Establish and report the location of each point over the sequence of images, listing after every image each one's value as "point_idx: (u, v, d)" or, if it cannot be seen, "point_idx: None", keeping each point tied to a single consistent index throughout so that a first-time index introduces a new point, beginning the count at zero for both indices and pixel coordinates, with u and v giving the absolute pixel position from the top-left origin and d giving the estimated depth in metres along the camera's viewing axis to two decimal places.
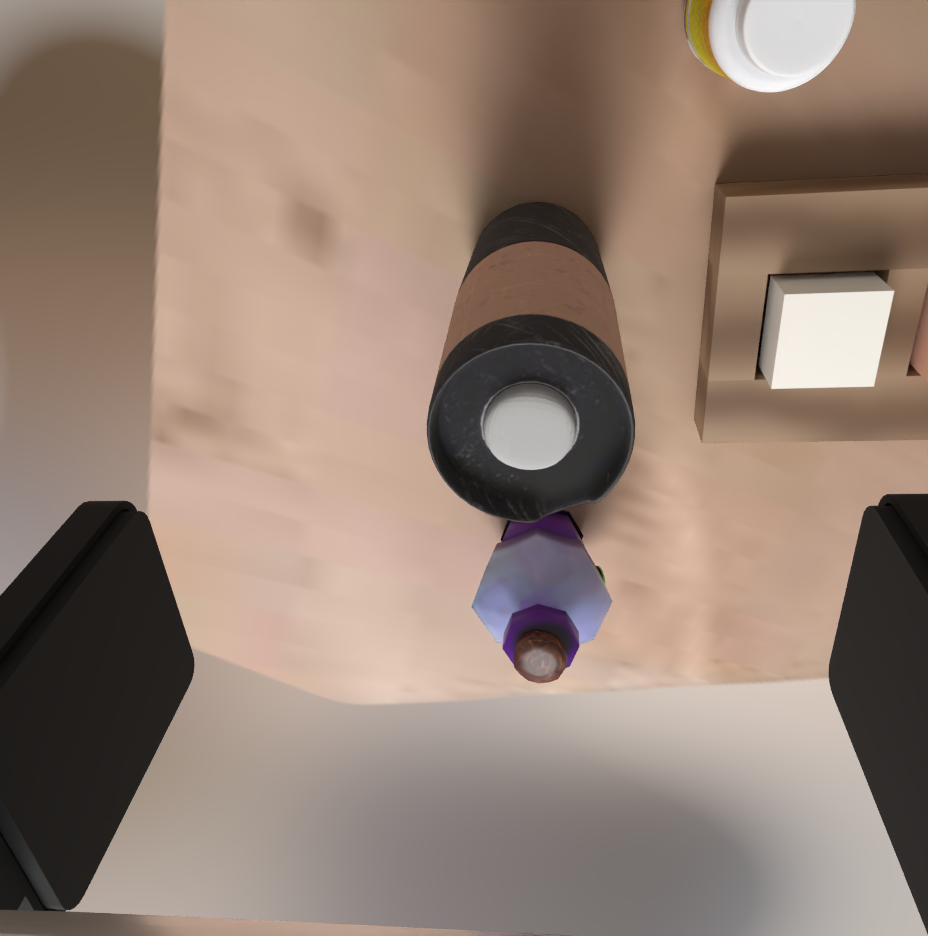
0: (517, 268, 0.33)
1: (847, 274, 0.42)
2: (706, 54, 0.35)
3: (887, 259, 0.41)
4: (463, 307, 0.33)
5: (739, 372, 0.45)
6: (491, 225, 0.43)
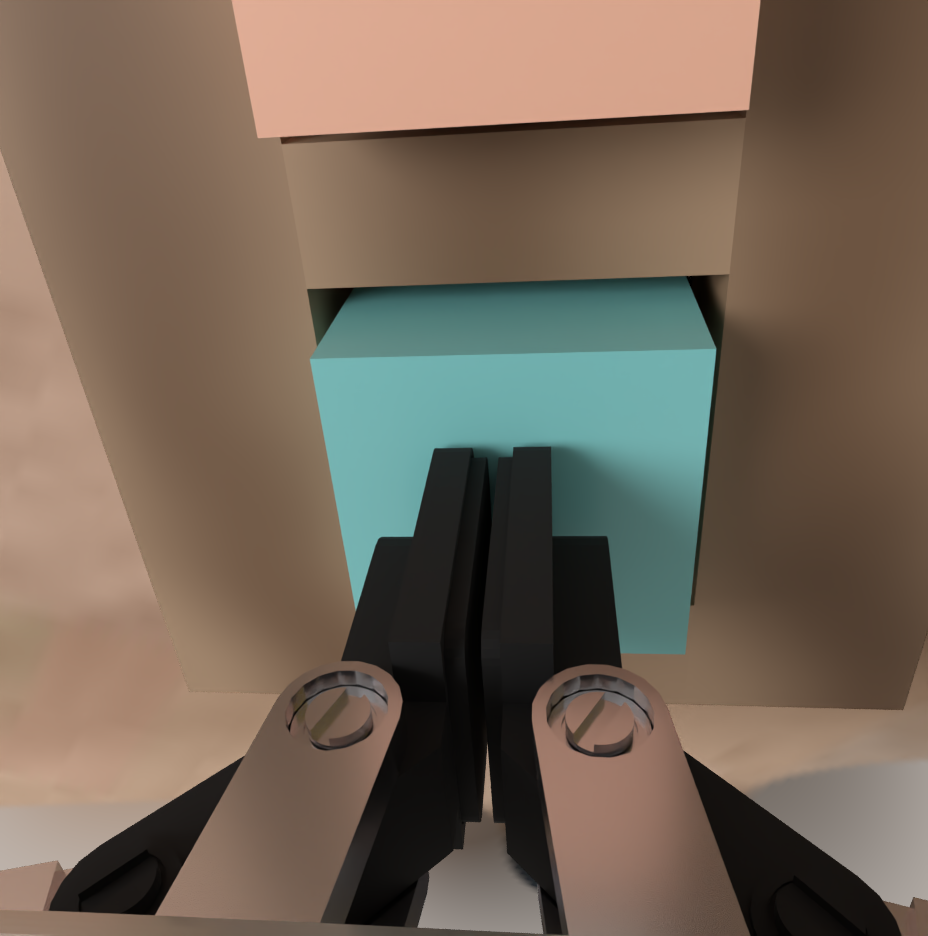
0: None
1: None
2: None
3: None
4: None
5: None
6: None
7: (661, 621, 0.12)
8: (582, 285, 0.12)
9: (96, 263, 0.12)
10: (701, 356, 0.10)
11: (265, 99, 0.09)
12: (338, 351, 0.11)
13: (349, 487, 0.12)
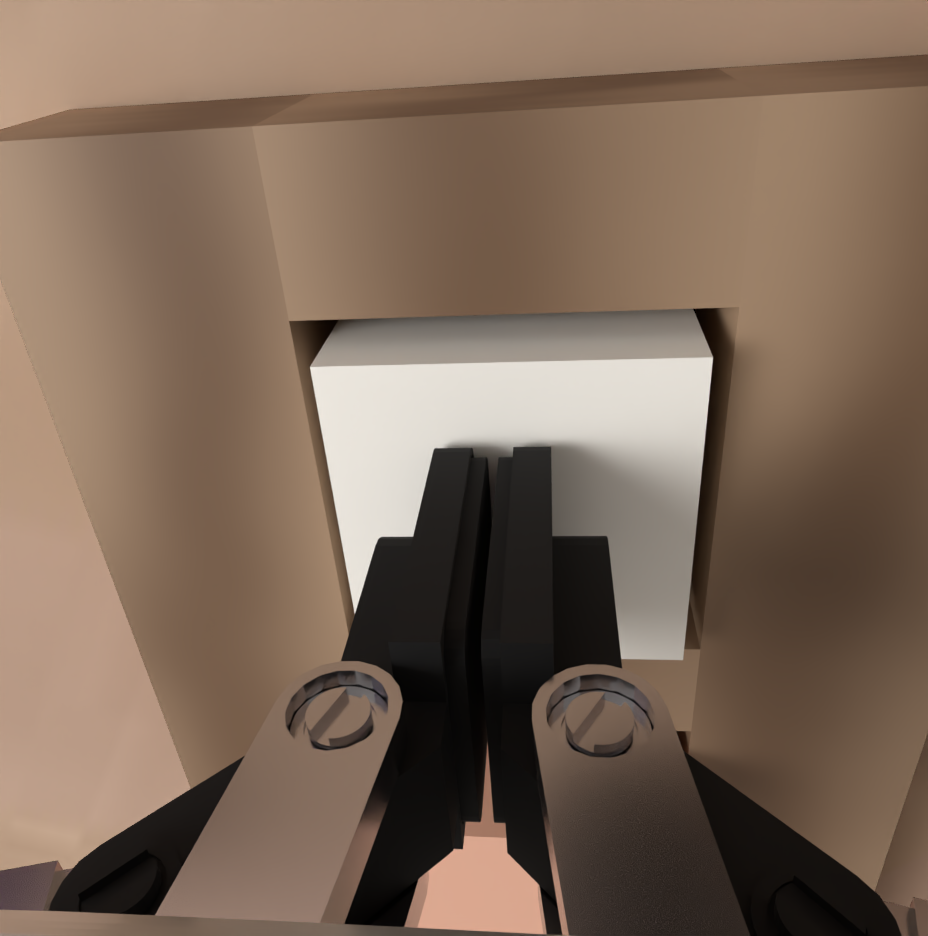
0: None
1: None
2: None
3: (734, 640, 0.13)
4: None
5: (312, 258, 0.11)
6: None
7: None
8: None
9: None
10: None
11: None
12: None
13: None
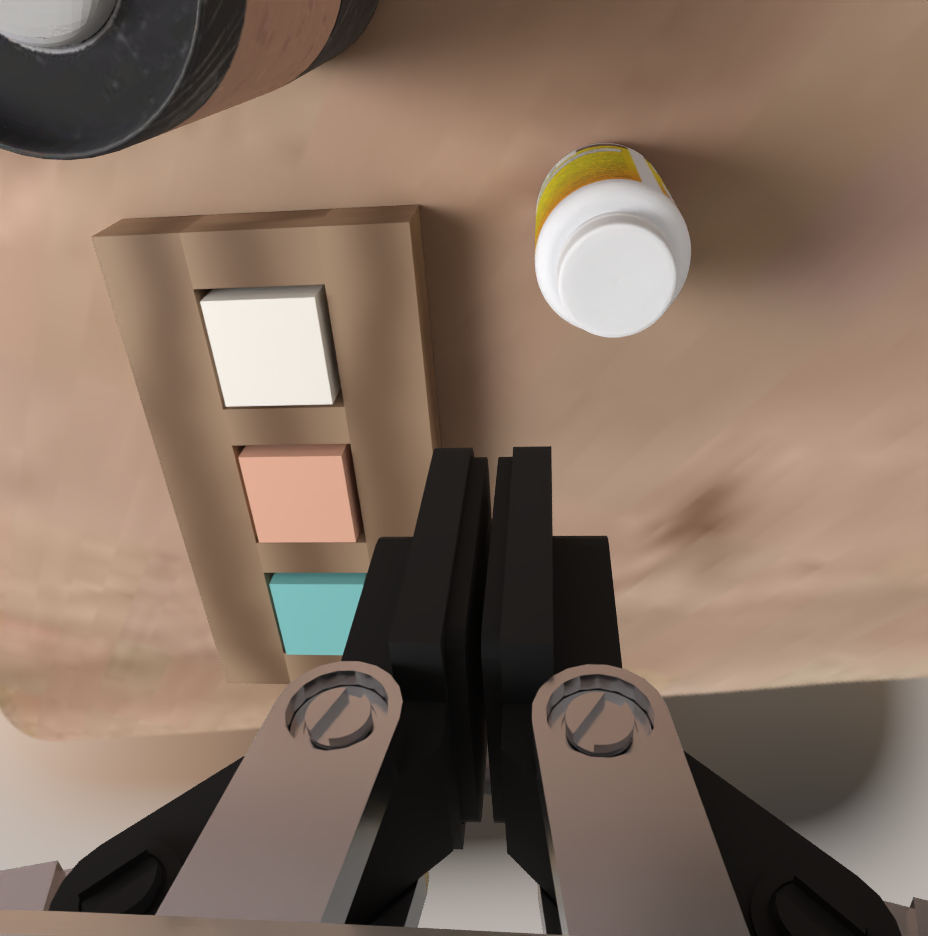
0: None
1: None
2: (571, 179, 0.30)
3: (354, 402, 0.38)
4: None
5: (198, 270, 0.36)
6: None
7: None
8: None
9: (206, 565, 0.44)
10: (360, 585, 0.43)
11: (260, 536, 0.42)
12: (276, 581, 0.44)
13: (280, 612, 0.45)
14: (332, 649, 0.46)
